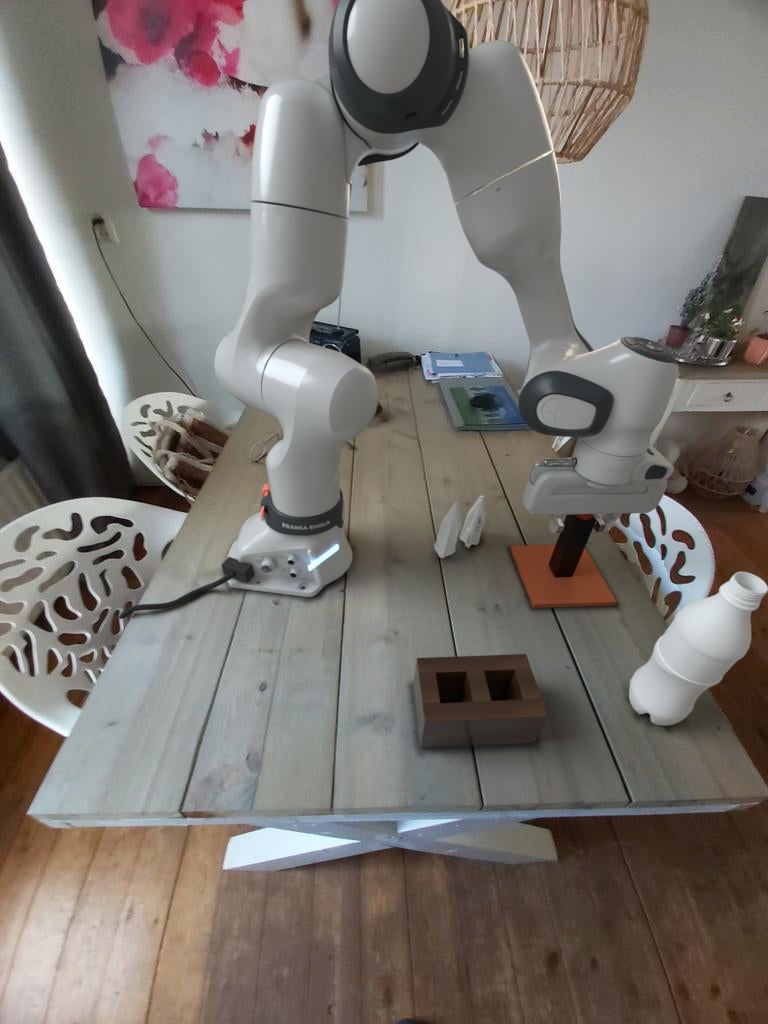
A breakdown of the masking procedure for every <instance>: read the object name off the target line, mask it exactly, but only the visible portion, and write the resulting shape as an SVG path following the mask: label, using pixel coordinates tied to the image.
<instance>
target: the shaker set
mask: <svg viewBox="0 0 768 1024" xmlns="http://www.w3.org/2000/svg"><path fill="white" fill-rule="evenodd" d="M486 512H487V511H486V496H485V495H480V496H479V497H478V498H477V499H476V501H475V502H474V503H473V505H472V506H471V508H470V509H469V510H468V512H467V513H466V517H465V520H464V524H463V526H462V516H461V506H460V503H459V502H454V503H453V505H452V506H451V508H450V509H449V510H448V511H447V513H446V514H445V516H444V517H443V519H442V521H441V523H440V526H439V529H438V533H437V537H436V541H435V543H434V547H433V548H434V551H435V552H436V554H437V555H438V557H439V558H441V559H445V558H446V557H448V556H451V555H454V553H455V552H456V545H457V542H458V538H459V540H460V541H462V543H464V546H465V547H467V548H468V549H469V548H471V546H473V545H475V546H477V545H478V544H479V543H480V539H481V535H482V531H483V528H484V525H485V521H486V518H487V517H486V516H487V515H486ZM461 527H462V530H461ZM460 530H461V533H460ZM459 534H460V535H459Z"/></svg>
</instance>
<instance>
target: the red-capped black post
mask: <svg viewBox="0 0 768 1024" xmlns="http://www.w3.org/2000/svg"><path fill="white" fill-rule="evenodd" d="M562 523H563V524H564V529H563V530H562V531H563V532H562V533H558V537H557V540H556V542H555V544H554V545H555V548H554V551H553V553H552V556H551V559H550V562H549V567H550V569H551V571H552V573H553V575H554V577H573V574H574V572H575V570H576V567H577V565H578V563H579V560H580V558H581V556H582V553H583V551H584V548H586V546H587V544H588V542H589V539H590V536H591V535H592V533H593V530H594V528H593V527H594V525H595V523H596V518H595V516H594V514H570V515H565V518H564V520H563V522H562Z"/></svg>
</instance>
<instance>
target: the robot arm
mask: <svg viewBox="0 0 768 1024" xmlns="http://www.w3.org/2000/svg"><path fill="white" fill-rule="evenodd" d="M469 37H470V36H469V34H468V31H467V29H466V27H465V26H464V25H463V23H461V22H460V21H459V19H458V18H457V17H456V16H455V15H454V13H452V12H451V11H450V9H448V8H447V6H445V4H444V3H443V1H442V0H338V1H337V3H336V6H335V9H334V11H333V15H332V20H331V22H330V28H329V36H328V47H327V49H328V50H327V51H328V55H327V56H328V67H329V69H327V71H326V72H325V73H324V74H322V76H320V77H316V78H313V79H308V78H304V77H287V78H282V79H280V80H277V81H275V82H273V83H272V84H271V85H270V86H269V87H267V89H266V90H265V91H264V93H263V95H262V97H261V99H260V103H259V107H258V112H257V118H256V124H255V131H254V138H253V145H252V156H251V157H252V158H251V170H250V171H251V172H250V199H249V200H250V230H249V231H250V233H249V234H250V237H249V241H250V242H249V271H248V272H249V274H248V281H247V289H246V293H245V298H244V300H243V306H242V309H241V312H240V315H239V317H238V320H237V322H236V324H235V326H234V327H233V329H232V330H231V331H230V332H229V333H228V334H227V335H225V336H224V337H223V339H222V340H221V341H220V343H219V345H218V346H217V349H216V351H215V356H214V363H213V364H214V365H213V366H214V372H215V376H216V379H217V381H218V382H219V384H220V386H221V387H222V388H223V389H224V390H225V391H226V392H228V394H230V395H231V396H232V397H234V398H235V399H236V400H237V401H238V402H240V403H241V404H243V405H244V406H246V407H248V408H250V409H253V410H255V411H257V412H260V413H262V414H263V415H267V416H269V417H271V418H273V419H275V420H276V421H277V422H278V424H279V425H280V427H281V426H282V428H281V429H282V433H283V438H281V439H282V440H279V441H277V442H276V443H275V444H274V445H273V447H271V449H270V450H269V451H268V454H267V456H266V458H265V462H266V463H265V468H266V469H265V470H266V475H267V478H268V479H267V480H268V483H265V484H263V486H262V489H261V490H262V491H261V492H260V494H261V495H260V496H261V497H262V498H261V500H260V510H259V511H258V512H256V513H254V514H253V515H251V516H250V517H248V518H247V519H246V520H245V521H244V523H243V524H242V525H241V528H240V530H239V532H238V535H237V537H236V539H235V540H234V541H233V543H232V544H231V547H230V548H229V551H228V554H227V557H226V559H225V560H224V561H223V562H222V563H221V569H222V572H223V575H224V576H223V577H221V578H219V579H218V580H216V581H213V582H211V583H208V584H205V585H203V586H201V587H198V588H196V589H194V590H191V591H190V592H188V593H185V594H184V595H182V596H180V597H178V598H176V599H174V600H171V601H168V602H167V601H166V602H162V603H143V604H135V605H132V606H130V607H127V608H126V609H124V610H123V611H122V612H121V613H120V614H119V616H118V619H119V620H122V619H125V618H126V617H127V616H129V615H130V614H132V613H134V612H140V611H153V610H156V611H157V610H166V609H169V608H173V607H176V606H178V605H181V604H183V603H184V602H186V601H188V600H190V599H192V598H194V597H197V596H198V595H200V594H202V593H204V592H206V591H209V590H212V589H215V588H217V587H219V586H221V585H223V584H225V583H228V584H227V585H229V587H230V588H233V589H240V590H247V591H248V590H249V591H256V592H263V593H272V594H281V595H287V596H288V595H289V596H296V597H302V598H303V597H304V598H313V597H315V596H316V595H317V594H318V593H320V592H321V590H322V589H323V588H324V587H326V586H327V585H328V584H330V583H333V582H335V581H336V580H338V579H339V578H340V577H342V576H343V575H344V574H345V573H346V572H347V571H348V569H349V568H350V566H351V565H352V562H353V550H352V547H351V545H350V542H349V540H348V537H347V534H346V530H345V525H344V523H345V520H346V519H345V515H346V514H345V499H344V494H343V490H342V489H341V479H340V476H341V474H340V473H341V471H340V467H341V466H340V465H341V464H340V463H341V462H340V461H341V454H342V451H343V449H344V446H345V445H346V444H347V443H346V442H348V443H349V441H351V440H354V439H355V438H357V437H359V436H360V435H361V434H362V433H364V432H365V431H366V430H367V429H368V428H369V426H370V424H371V423H372V422H373V419H374V417H375V416H376V414H377V413H376V410H377V405H378V401H379V388H378V384H377V380H376V378H375V376H374V374H373V372H372V371H371V370H370V369H369V368H367V367H366V366H364V365H363V364H361V363H360V362H358V361H357V360H355V359H353V358H351V357H350V356H348V355H346V354H344V353H343V352H340V351H337V350H334V349H331V348H327V347H325V346H321V345H319V344H316V343H315V344H314V343H311V342H310V335H311V331H312V327H313V324H314V322H315V319H316V318H317V315H318V314H319V313H320V311H321V310H323V309H325V308H327V307H329V306H330V305H332V304H333V303H335V302H336V301H337V299H338V298H339V297H340V295H341V293H342V291H343V288H344V279H345V268H346V257H347V247H348V246H347V245H348V237H349V236H348V235H349V225H350V221H349V220H350V210H351V197H352V188H353V182H354V178H355V173H356V170H357V167H363V166H367V165H372V164H376V163H382V162H389V161H393V160H397V159H401V158H402V157H404V156H406V155H408V154H409V153H411V152H412V151H413V150H415V149H416V148H417V147H418V146H419V144H420V145H422V146H425V147H426V148H428V149H429V150H430V151H431V152H432V153H433V154H434V155H435V157H436V158H437V160H438V162H439V164H440V166H441V168H442V170H443V172H444V173H445V176H446V178H447V182H448V187H449V190H450V193H451V194H450V195H451V197H452V201H453V203H454V208H455V210H456V213H457V217H458V220H459V223H460V226H461V228H462V231H463V234H464V236H465V238H466V240H467V242H468V244H469V246H470V248H471V250H472V252H473V254H474V256H475V258H476V259H477V261H478V262H479V263H480V264H481V265H482V266H484V267H485V268H487V269H489V270H490V271H492V272H494V273H497V274H498V275H500V276H501V277H502V278H503V279H504V280H505V281H506V282H507V284H508V285H509V286H510V288H511V290H512V291H513V294H514V296H515V298H516V302H517V305H518V308H519V312H520V315H521V319H522V321H523V324H524V327H525V331H526V334H527V338H528V340H529V357H528V362H527V368H526V374H525V377H524V380H523V384H522V385H521V386H522V387H521V390H520V394H519V396H518V411H519V414H520V417H521V419H522V421H523V422H524V423H525V424H526V426H528V427H529V428H530V429H531V430H532V431H534V432H536V433H539V434H541V435H545V436H550V437H551V436H552V437H563V438H565V437H566V438H577V440H576V443H575V446H574V449H573V452H572V455H571V457H561V458H554V457H548V458H544V459H543V460H542V461H539V462H537V463H536V464H533V466H532V467H531V469H530V474H529V479H528V481H527V483H526V485H525V488H524V490H523V493H522V497H521V501H522V505H523V506H524V508H525V510H526V511H527V512H528V514H529V515H531V516H549V517H550V520H551V521H550V524H549V530H550V532H551V534H560V533H562V532H563V531H562V530H563V529H564V524H563V523H564V522H563V521H562V516H566V515H570V514H593V515H602V516H601V517H596V518H595V519H596V523H595V525H594V527H593V530H595V533H607V531H608V529H609V527H610V526H611V525H612V524H614V523H615V522H616V521H618V520H619V519H620V518H621V517H622V515H623V514H649V513H651V512H652V511H654V510H655V509H657V507H658V506H659V505H660V504H661V501H662V499H663V497H664V494H665V492H666V490H667V487H668V479H669V478H671V476H672V475H673V473H674V471H675V468H674V466H673V465H672V464H671V462H670V461H669V460H668V459H667V458H666V457H665V456H664V455H663V454H662V453H661V452H660V451H658V449H656V448H655V447H653V445H651V444H650V440H651V439H650V438H651V435H652V433H653V431H654V430H655V428H656V427H657V426H658V425H659V424H660V422H661V421H662V419H663V416H664V414H665V412H666V410H667V407H668V406H669V403H670V400H671V399H672V398H671V397H672V395H673V392H674V390H675V387H676V383H677V381H678V375H679V362H678V361H677V358H676V357H675V355H674V353H673V352H671V350H669V348H668V347H666V346H663V345H662V344H661V343H658V342H656V341H653V340H651V339H648V338H644V337H639V336H623V337H619V339H617V340H616V341H615V342H613V343H610V344H608V345H605V346H603V347H601V348H598V349H595V350H594V348H593V347H592V345H591V344H590V342H588V341H587V339H586V338H585V337H584V336H583V335H582V333H581V332H580V331H579V329H578V328H577V326H576V324H575V321H574V318H573V314H572V310H571V305H570V300H569V298H568V293H567V289H566V284H565V281H564V276H563V272H562V264H561V245H562V243H561V242H562V224H563V223H562V218H563V217H562V214H563V213H562V212H563V211H562V195H561V185H560V176H559V168H558V163H557V158H556V153H555V148H554V143H553V139H552V135H551V130H550V127H549V123H548V120H547V116H546V113H545V109H544V105H543V103H542V100H541V96H540V93H539V91H538V88H537V86H536V83H535V80H534V77H533V74H532V73H531V70H530V68H529V65H528V63H527V61H526V58H525V56H524V54H523V52H522V51H521V50H520V48H519V47H518V46H517V45H515V44H514V43H512V42H511V41H508V40H503V39H496V40H495V39H494V40H488V41H485V42H482V43H479V44H477V45H475V46H473V47H472V48H470V38H469ZM461 40H462V44H463V47H462V44H461Z"/></svg>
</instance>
